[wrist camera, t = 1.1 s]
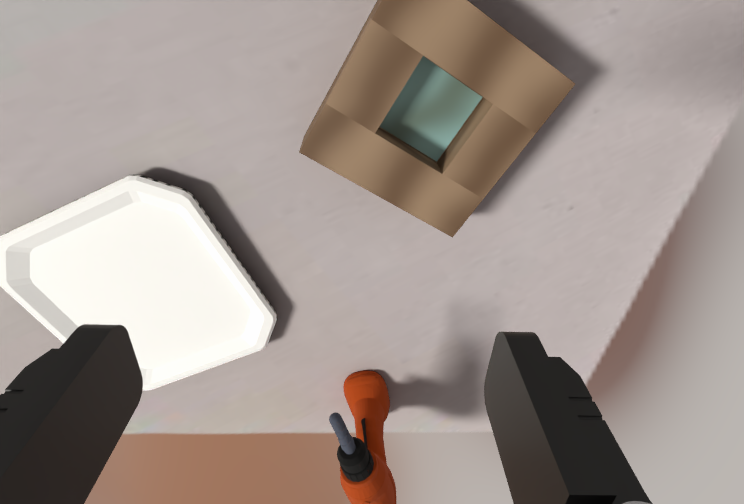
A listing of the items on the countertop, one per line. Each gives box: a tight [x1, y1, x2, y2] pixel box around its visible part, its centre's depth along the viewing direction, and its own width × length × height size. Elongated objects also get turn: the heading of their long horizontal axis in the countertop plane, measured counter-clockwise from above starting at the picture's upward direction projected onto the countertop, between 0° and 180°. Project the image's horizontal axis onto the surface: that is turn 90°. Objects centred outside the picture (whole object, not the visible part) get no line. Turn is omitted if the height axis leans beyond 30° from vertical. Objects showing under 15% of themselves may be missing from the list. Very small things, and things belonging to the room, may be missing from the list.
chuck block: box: [299, 0, 575, 237], centre depth 33 cm, size 14×14×4 cm
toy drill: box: [329, 371, 396, 504], centre depth 42 cm, size 5×19×15 cm, turn 12°
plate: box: [0, 175, 277, 390], centre depth 42 cm, size 21×21×2 cm
